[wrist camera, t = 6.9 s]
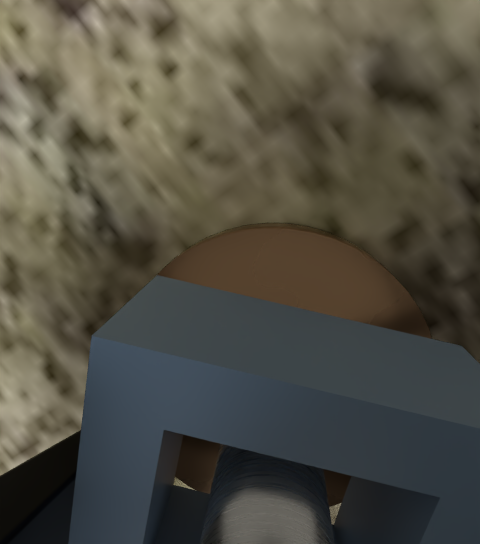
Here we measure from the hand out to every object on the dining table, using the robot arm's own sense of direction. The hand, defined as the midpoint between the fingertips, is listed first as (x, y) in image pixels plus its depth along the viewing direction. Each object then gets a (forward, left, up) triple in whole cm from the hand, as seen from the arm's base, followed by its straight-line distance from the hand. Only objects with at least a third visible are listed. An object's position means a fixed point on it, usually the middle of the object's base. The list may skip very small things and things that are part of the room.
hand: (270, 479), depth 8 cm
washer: (0, 0, -1) cm, 1 cm away
